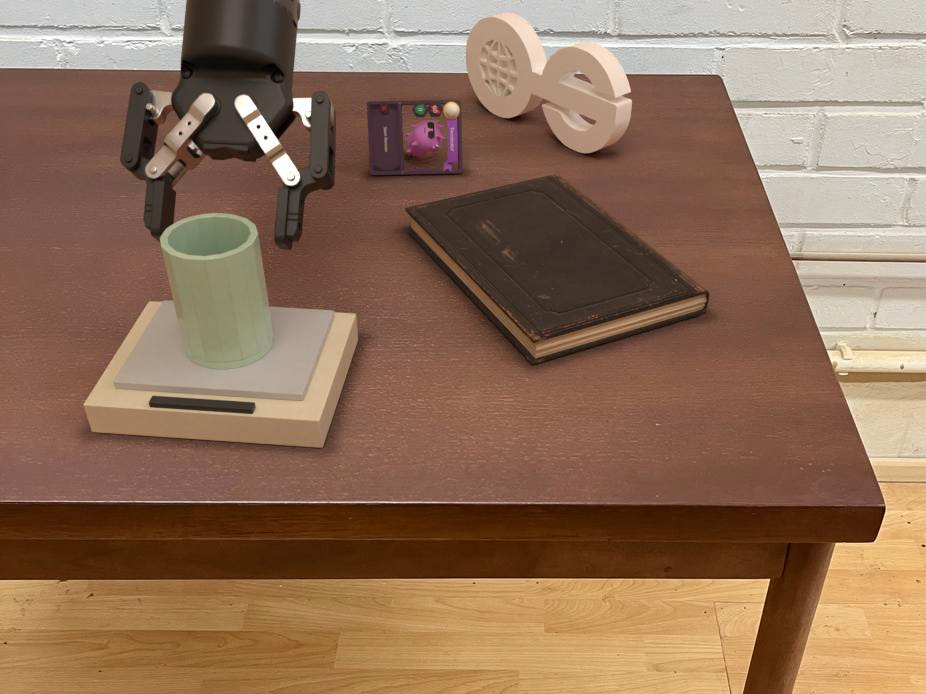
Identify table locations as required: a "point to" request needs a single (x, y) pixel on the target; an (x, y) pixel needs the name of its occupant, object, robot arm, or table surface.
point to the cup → (218, 289)
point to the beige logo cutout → (548, 82)
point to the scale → (227, 382)
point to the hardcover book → (553, 267)
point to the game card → (412, 135)
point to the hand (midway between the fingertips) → (221, 243)
